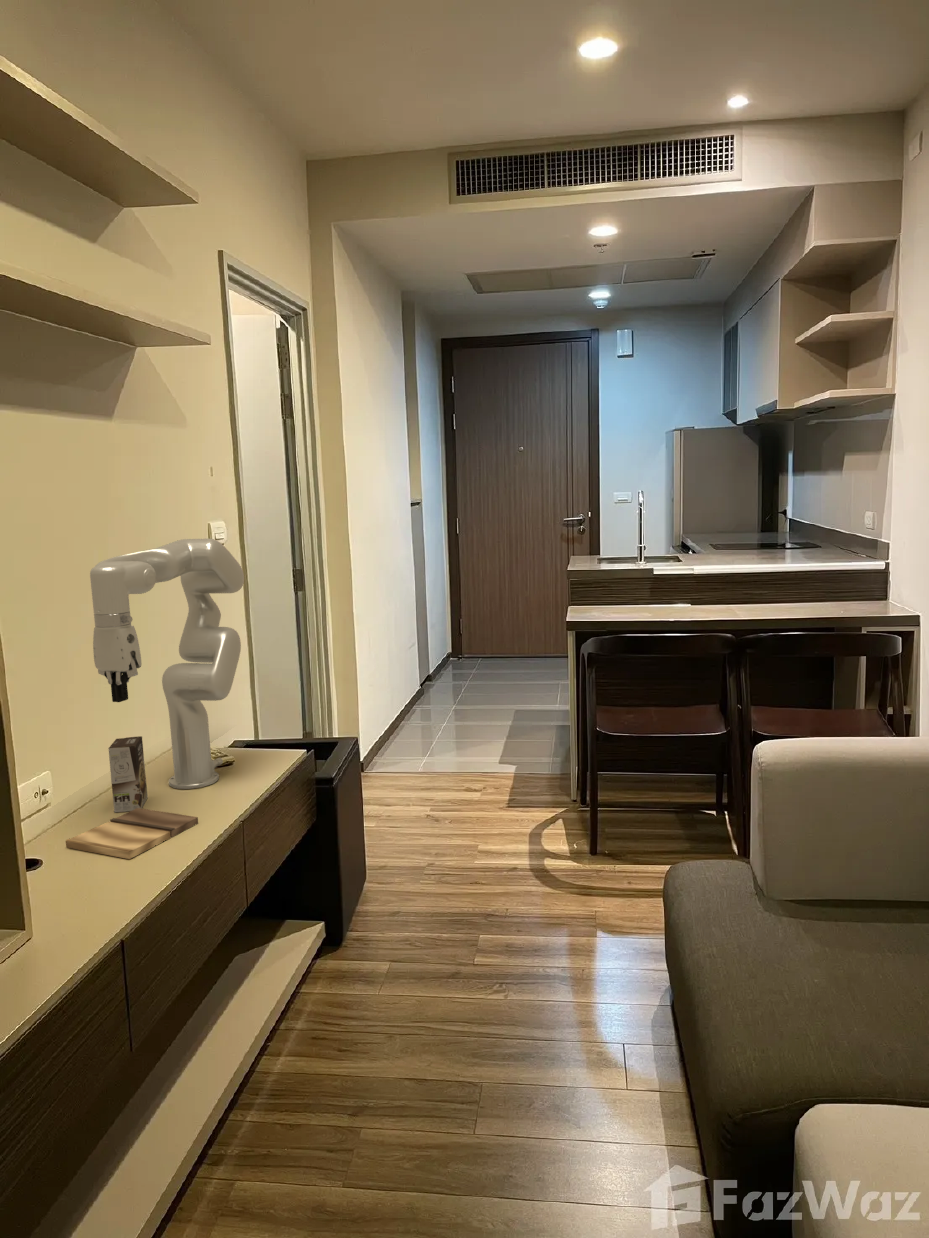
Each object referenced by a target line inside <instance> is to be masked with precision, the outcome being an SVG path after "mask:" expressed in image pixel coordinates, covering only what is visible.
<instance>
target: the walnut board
mask: <svg viewBox="0 0 929 1238" xmlns="http://www.w3.org/2000/svg"><path fill="white" fill-rule="evenodd" d="M109 822H114V823H120V824H126V825H132V826H138V827H145V828H151V829H157V830H163V831H169V832H170V838H173V837H175V836H177V835H179V834H181V833H183V832H185V831H186V829H187V830H189V829H191V828H193V827H194V826H196V825H197V824H198V825H199V817H198V816H192V815H186V814H179V813H173V812H167V811H161V810H155V809H154V810H153V809H147V808H143V807H142V808H136V809H134V810H132V811H127V812H126V813H124V814H122V815H119V816H118V817H115V818H114V817H113V818H111V819H110V820H109ZM195 824H196V825H195ZM193 825H194V826H193ZM184 830H185V831H184Z"/></svg>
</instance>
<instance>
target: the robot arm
mask: <svg viewBox="0 0 929 1238" xmlns="http://www.w3.org/2000/svg"><path fill="white" fill-rule="evenodd" d="M89 572H90V573H89V578H90V589H91V597H92V598H91V599H92V600H91V601H92V608H93V609H92V610H93V616H94V617H93V620H94V628H93V635H92V636H93V638H92V640H93V641H92V647H93V648H92V649H93V650H92V651H93V652H92V654H93V661H94V667H95V668H96V669H97V673H98V675H101V676H103V677H105V678H106V680H107V683H108V684H109V685H110V691H111V701H112V703H121V702H124V701H125V702H126V701H127V700H129V691H128V690H129V689H128V683H129V682H130V679H131V678H132V677H137V676H138V675H139V673H138V669H140V668H141V667H142V655H141V648H140V644H139V643H140V642H139V639H138V635H137V631H136V628H135V626H134V625H132V622H133V617H132V616H131V608H130V598H129V597H130V596H129V595H142V594H146V593H148V592H150V591H151V590H152V589H153V588H154V587H155V585H156V584H159V583H165V582H169V581H171V580H173V579H176V578H178V577H180V584H181V587H182V589H183V592H184V595H185V597H186V602H187V607H188V612H187V616H186V620H185V623H184V628H183V630H182V634H181V637H180V641H179V643H178V644H179V645H178V653H179V656H180V657H181V659H182V660H184V661H186V662H181V663H175V664H171V665H170V666H168V667H167V668H166V669H165V670H164V672H163V674H162V677H161V685H162V690H163V693H164V696H165V699H166V704H167V708H168V715H169V716H168V717H169V718H168V719H169V726H170V737H171V738H170V740H171V750H172V751H171V752H172V759H173V760H172V761H173V774H174V775H173V776H171V777H170V778H169V779H168V785H169V787H171V788H173V789H177V790H178V789H179V790H191V789H199V788H204V787H207V786H210V785H212V784H215V783H216V782H217V781H219V778H220V777H219V776H220V775H219V773H218V772H217V771H216V770H215V769H216V767H218V766H221V765H223V763H224V760H223V758H222V757H217V758H215V759H212V752H211V750H212V749H211V740H210V726H209V716H208V715H209V714H208V711H207V709H206V707H205V705H204V704H203V702H202V701H205V702H206V701H208V702H209V701H210V702H211V701H212V702H213V701H214V702H215V701H217V702H218V701H222V700H224V699H226V698H227V697H228V696H229V694H230V692H231V690H232V686H233V682H234V679H235V675H236V672H237V667H238V664H239V660H240V656H241V655H240V654H241V649H242V644H241V643H242V642H241V637H240V635H239V633H238V632H237V630H235V629H234V628H233V627H229V626H220V623H221V619H222V618H221V616H222V614H221V613H222V612H221V610H220V608H219V606H218V605H217V603H216V601H214V599H213V597H212V596H211V594H235V593H238V592H239V591H240V590H241V589H242V587H243V586H244V583H245V574H244V570H243V568H242V566H241V564H240V563H239V562H238V560H237V559H236V558H235V556H233V554H231V552H230V551H229V550H228V549H227V547H225V546H224V544H223V543H221V542H220V541H218V540H217V539H214V538H184V539H179V540H175V541H172V542H169V543H166V544H164V545H162V546H157V547H155V548H151V549H150V548H149V549H146V550H142V551H141V550H140V551H136V552H131V553H126V554H123V555H122V554H121V555H116V556H113V557H110V558H107V559H104V560H102V561H99V562H98V563H97V564H96V565H95V566H94V567H92V568H91V569H90V571H89Z"/></svg>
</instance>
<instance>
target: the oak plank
mask: <svg viewBox="0 0 929 1238" xmlns="http://www.w3.org/2000/svg"><path fill="white" fill-rule="evenodd" d="M170 839H171V837H170V832H169V831H163V830H157V829H151V828H145V827H138V826H132V825H126V824H120V823H114V822H110V821H107V822H105V823H102V824H100V825H97V826H95V827H93V828H90V829H89V830H86V831H84V832H82V833H80V834H76V836H73V837H71V838H67V839H65V848H69V849H73V850H79V851H84V852H89V853H95V854H101V855H105V856H111V857H117V858H121V859H122V858H123V859H127V860H131V859H133V858H134V857H137V856H138V855H140V854H142V853H144V852H146V851H148V850H150V849H152V848H154V847H155V845H156V846H159V844H162V843H164V842H166V841H168V840H170ZM165 840H166V841H165ZM163 841H164V842H163Z"/></svg>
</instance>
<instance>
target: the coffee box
mask: <svg viewBox="0 0 929 1238" xmlns="http://www.w3.org/2000/svg"><path fill="white" fill-rule="evenodd" d="M107 750H108V757H109V760H108V761H109V770H110V781H111V791H112V803H113V812H114V813H123V812H124V813H125V812H126V813H128V812H130V811H132V810H134V809H136V808H142V809H143V807H144V805H145V803H146V802H147V800H148V787H147V777H146V776H147V775H146V774H147V773H146V764H145V754H144V743H143V736H131V737H122V738H115V740H114V741H113V742H112V743H111V744H110V746H109V747H108V749H107Z"/></svg>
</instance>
